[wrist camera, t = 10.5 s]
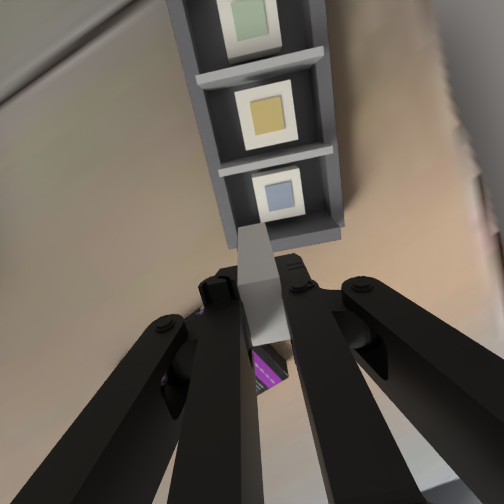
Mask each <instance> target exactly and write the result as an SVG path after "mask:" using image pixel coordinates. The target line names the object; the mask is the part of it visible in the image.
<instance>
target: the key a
mask: <svg viewBox="0 0 504 504" xmlns="http://www.w3.org/2000/svg"><path fill="white" fill-rule="evenodd" d="M216 1H217V6H218V11H219V16H220V21H221V26H222V31H223V36H224V41H225V46H226V51H227V56H228V60H229V64H234V63H238V62H243V61H247V60H251V59H256V58H260V57H264V56H268V55H273V54H277V53H279V52H280V50H281V48H282V40H281V33H280V26H279V19H278V12H277V4H276V0H216Z"/></svg>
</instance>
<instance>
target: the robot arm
mask: <svg viewBox="0 0 504 504" xmlns="http://www.w3.org/2000/svg"><path fill="white" fill-rule="evenodd" d="M198 288H199V292H200V295H201V298H202V301H203V304H204V310H203V313H202V314H201V315H199V316H197V317H195V318H193V319H190V320H188V321H185V322H184V319H183V317H182V316H181V315H179V314H170V315H165V316H162V317H159V318H158V319H157V320H155V321H153V322H152V323H151V324H150V325H149V326H148V327H147V328H146V330H145V331H144V332H143V334H142V335H141V336H140V337H139V339H138V340H137V341H136V343H135V344H134V345H133V346H132V348H131V349H130V350H129V351H128V353H127V354H126V355H125V357H124V358H123V359H122V360H121V362H120V363H119V364H118V366H117V367H116V368H115V369H114V371H113V372H112V373H111V375H110V376H109V377H108V378H107V380H106V381H105V382H104V384H103V385H102V386H101V387H100V389H99V390H98V391H97V393H96V394H95V395H94V396H93V398H92V399H91V400H90V402H89V403H88V404H87V405H86V407H85V408H84V409H83V411H82V412H81V413H80V414H79V416H78V417H77V418H76V420H75V421H74V422H73V423H72V425H71V426H70V427H69V429H68V430H67V431H66V432H65V434H64V435H63V436H62V438H61V439H60V440H59V441H58V443H57V444H56V445H55V447H54V448H53V449H52V450H51V452H50V453H49V454H48V456H47V457H46V458H45V459H44V461H43V462H42V463H41V465H40V466H39V467H38V468H37V470H36V471H35V472H34V474H33V475H32V476H31V477H30V479H29V480H28V481H27V483H26V484H25V485H24V486H23V488H22V489H21V490H20V492H19V493H18V494H17V495H16V497H15V498H14V499H13V501H12V502H11V503H10V504H152V502H153V500H154V497H155V495H156V492H157V490H158V488H159V485H160V483H161V481H162V478H163V476H164V473H165V471H166V469H167V466H168V464H169V461H170V459H171V457H172V454H173V452H174V450H175V447H176V445H177V442H178V440H179V442H178V447H177V452H176V458H175V463H174V468H173V473H172V479H171V484H170V489H169V495H168V500H167V504H264V494H263V480H262V465H261V450H260V436H259V421H258V407H257V392H256V378H255V363H254V354H253V350H252V346H251V341H252V345H253V346H258V345H263V344H268V343H274V342H279V341H284V340H289V339H291V344H292V350H293V355H294V360H295V364H296V366H297V371H298V375H299V379H300V383H301V388H302V392H303V396H304V400H305V405H306V409H307V413H308V417H309V422H310V426H311V430H312V434H313V439H314V443H315V447H316V451H317V456H318V460H319V464H320V468H321V473H322V477H323V481H324V486H325V490H326V494H327V498H328V503H329V504H431V503H430V502H427V501H426V499H425V498H424V497H423V495H422V494H421V492H420V490H419V488H418V486H417V484H416V482H415V480H414V478H413V476H412V474H411V472H410V470H409V468H408V466H407V464H406V462H405V460H404V458H403V456H402V454H401V452H400V450H399V448H398V446H397V444H396V442H395V440H394V438H393V436H392V434H391V432H390V429H389V427H388V425H387V423H386V421H385V419H384V417H383V415H382V413H381V411H380V409H379V407H378V405H377V403H376V401H375V399H374V397H373V395H372V393H371V391H370V389H369V387H368V385H367V383H366V381H365V379H364V377H363V375H362V373H361V371H360V369H359V367H358V365H357V363H358V364H359V365H360V366H361V367H362V368H363V369H364V370H365V372H366V373H367V374H368V375H369V376H370V377H371V378H372V379H373V381H374V382H375V383H376V384H377V385H378V386H379V387H380V388H381V390H382V391H383V392H384V393H385V394H386V395H387V396H388V397H389V399H390V400H391V401H392V402H393V403H394V404H395V405H396V406H397V408H398V409H399V410H400V411H401V412H402V413H403V414H404V415H405V417H406V418H407V419H408V420H409V421H410V422H411V423H412V424H413V426H414V427H415V428H416V429H417V430H418V431H419V432H420V434H421V435H422V436H423V437H424V438H425V439H426V440H427V441H428V443H429V444H430V445H431V446H432V447H433V448H434V449H435V450H436V452H437V453H438V454H439V455H440V456H441V457H442V458H443V459H444V461H445V462H446V463H447V464H448V465H449V466H450V467H451V468H452V470H453V471H454V472H455V473H456V474H457V475H458V476H459V477H460V479H461V480H462V481H463V482H464V483H465V484H466V485H467V486H468V488H469V489H470V490H471V491H472V492H473V493H474V494H475V495H476V496H477V498H478V499H479V500H480V501H481V502H482V503H483V504H504V359H502V358H501V357H499V356H497V355H496V354H494V353H493V352H491V351H490V350H488V349H486V348H485V347H483V346H482V345H480V344H479V343H477V342H475V341H474V340H472V339H471V338H469V337H468V336H466V335H464V334H463V333H461V332H460V331H458V330H456V329H455V328H453V327H452V326H450V325H449V324H447V323H445V322H444V321H442V320H441V319H439V318H438V317H436V316H434V315H433V314H431V313H430V312H428V311H427V310H425V309H423V308H422V307H420V306H419V305H417V304H416V303H414V302H412V301H411V300H409V299H408V298H406V297H404V296H403V295H401V294H400V293H398V292H397V291H395V290H393V289H392V288H390V287H389V286H387V285H386V284H384V283H382V282H381V281H379V280H377V279H375V278H372V277H366V276H361V277H360V276H357V277H354V278H350V279H348V280H346V281H344V282H343V284H342V287H341V290H327V289H322V288H320V287H319V285H318V284H317V283H316V282H315V281H314V280H311V277H310V275H309V273H308V271H307V269H306V267H305V265H304V263H303V261H302V258H301V257H300V256H298V255H297V254H295V253H292V254H287V255H282V256H277V257H274V255H273V251H272V247H271V244H270V240H269V236H268V233H267V229H266V225H265V222H263V223H258V224H253V225H248V226H243V227H238V265H237V266H232V267H227V268H222V269H220V270H219V271H218V272H217V273H216V274H215V276H212V277H209V278H207V279H205V280H204V281H202V282H201V283H200V285H199V286H198ZM356 361H357V362H356ZM163 377H164V378H163ZM162 379H163V380H162Z"/></svg>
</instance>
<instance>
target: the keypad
mask: <svg viewBox="0 0 504 504" xmlns="http://www.w3.org/2000/svg"><path fill="white" fill-rule="evenodd" d="M166 2H167V6H168V10H169V14H170V18H171V22H172V26H173V30H174V34H175V38H176V42H177V46H178V50H179V54H180V58H181V62H182V66H183V70H184V74H185V78H186V82H187V86H188V90H189V94H190V98H191V102H192V106H193V109H194V113H195V117H196V121H197V125H198V129H199V133H200V137H201V141H202V145H203V149H204V153H205V157H206V161H207V165H208V169H209V173H210V177H211V181H212V185H213V189H214V193H215V197H216V201H217V205H218V209H219V213H220V217H221V221H222V225H223V229H224V233H225V237H226V241H227V245H228V248H229V249H233V248H237V251H238V227H243V226H248V225H253V224H258V223H261V221H260V216H259V211H258V206H257V201H256V196H255V191H254V186H253V181H252V174H255V173H259V172H264V171H269V170H274V169H278V168H283V167H288V166H293V165H296V166H297V167H298V168H299V171H300V178H301V185H302V193H303V200H304V207H305V214H304V215H299V216H294V217H289V218H284V219H278V220H273V221H268V222H265V225H266V229H267V233H268V236H269V240H270V244H271V247H272V251H273V252H278V251H283V250H288V249H294V248H299V247H304V246H309V245H315V244H320V243H325V242H330V241H336V240H341V230H340V228H341V227H345V224H344V212H343V201H342V189H341V178H340V167H339V155H338V144H337V132H336V121H335V109H334V98H333V86H332V75H331V64H330V52H329V41H328V29H327V18H326V6H325V0H276V4H277V12H278V19H279V26H280V33H281V40H282V48H281V50H280V52H279V53H277V54H273V55H268V56H264V57H260V58H256V59H251V60H247V61H243V62H238V63H234V64H229V60H228V56H227V51H226V46H225V41H224V36H223V31H222V26H221V21H220V16H219V11H218V6H217V1H216V0H166ZM286 80H290V81H291V89H292V96H293V103H294V111H295V118H296V126H297V133H298V140H293V141H289V142H284V143H279V144H275V145H270V146H265V147H261V148H256V149H251V150H247V151H246V148H245V143H244V138H243V133H242V128H241V123H240V118H239V113H238V108H237V103H236V98H235V93H234V92H237V91H242V90H246V89H251V88H255V87H259V86H264V85H268V84H272V83H277V82H281V81H286Z"/></svg>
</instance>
